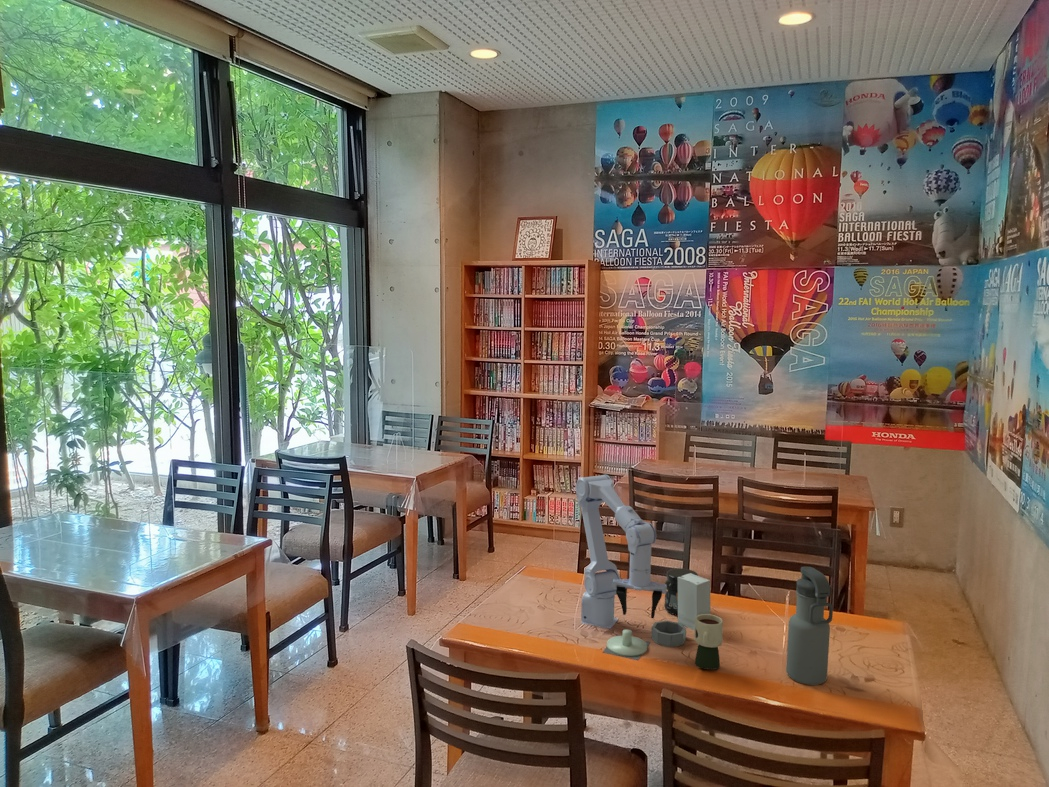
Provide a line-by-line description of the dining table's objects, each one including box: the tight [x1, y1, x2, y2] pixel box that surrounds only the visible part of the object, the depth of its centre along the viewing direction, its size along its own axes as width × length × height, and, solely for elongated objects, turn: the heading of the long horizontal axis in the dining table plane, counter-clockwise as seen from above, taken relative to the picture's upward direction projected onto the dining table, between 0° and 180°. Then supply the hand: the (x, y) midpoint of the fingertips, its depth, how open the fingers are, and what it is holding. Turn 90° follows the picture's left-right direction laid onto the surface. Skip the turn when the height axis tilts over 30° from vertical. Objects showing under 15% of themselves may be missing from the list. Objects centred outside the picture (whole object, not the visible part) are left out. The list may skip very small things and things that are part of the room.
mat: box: [602, 634, 651, 661], centre depth 201 cm, size 10×12×1 cm
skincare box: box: [677, 573, 711, 631], centre depth 215 cm, size 8×6×15 cm
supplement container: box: [663, 567, 699, 616], centre depth 226 cm, size 10×10×12 cm
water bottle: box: [785, 566, 834, 686], centre depth 184 cm, size 10×10×28 cm
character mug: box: [693, 613, 724, 670], centre depth 190 cm, size 11×7×13 cm, turn 156°
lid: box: [606, 628, 648, 656], centre depth 200 cm, size 11×11×4 cm
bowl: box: [650, 620, 687, 648], centre depth 205 cm, size 9×9×4 cm
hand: (638, 615), depth 200 cm, fingers open, 7 cm apart
